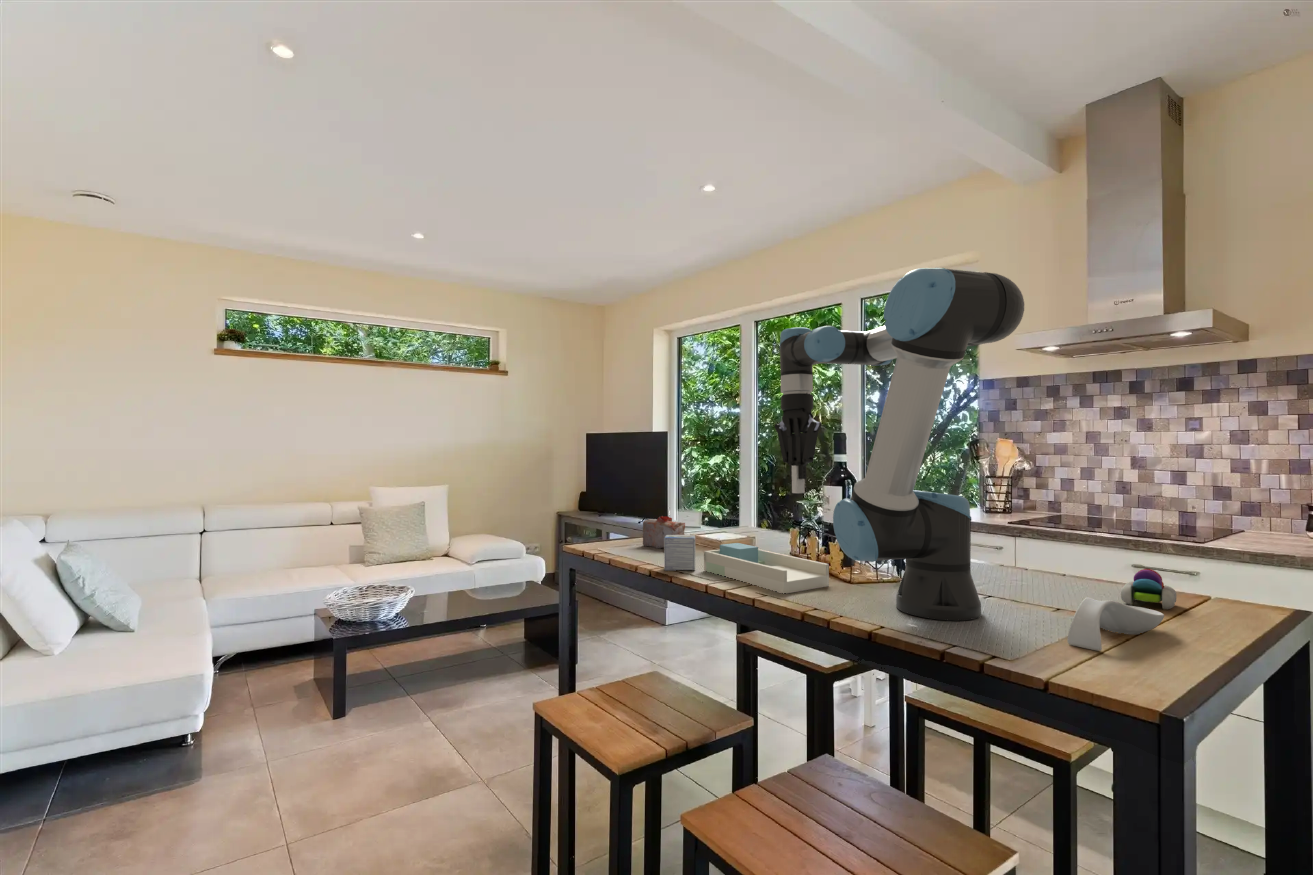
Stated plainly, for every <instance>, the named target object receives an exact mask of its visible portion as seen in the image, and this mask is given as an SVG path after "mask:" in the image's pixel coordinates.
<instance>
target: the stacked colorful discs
mask: <svg viewBox="0 0 1313 875" xmlns="http://www.w3.org/2000/svg"><path fill="white" fill-rule="evenodd" d="M1164 584H1165V583H1164V582H1163V578H1162V575H1161V574H1160V573H1159V572H1157V571H1156V570H1154V569H1152V568H1143V569H1140V570H1138V571H1136V573H1135V574H1134V575H1133V581H1129V582H1127V583H1125V584H1124V586H1122V588H1120V598H1121V600H1122V602H1124V604H1126V605H1128V606H1133V603H1134V602H1135V601H1136V600H1137V601H1140V602H1147V603H1149V602H1150V603H1161V606H1162V607H1161V608H1162V610H1164V609H1167V610H1170V609H1172V608H1174V607H1175V604H1176V602H1177V591H1176V590H1175V589H1174V588H1173V587H1171V586H1169V585H1164Z"/></svg>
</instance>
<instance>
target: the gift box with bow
mask: <svg viewBox="0 0 1313 875" xmlns="http://www.w3.org/2000/svg"><path fill="white" fill-rule="evenodd" d="M685 530H686V522H683V521H682V522H679V521H673V517H671V516H663V515H661V516H659V517H657V519H656V518H649V519H646V520H644V521H642V546H644V547H650V546H652V547H651V548H656V549H664V538H665V536H666V535H686V534H685Z"/></svg>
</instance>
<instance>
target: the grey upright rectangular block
mask: <svg viewBox="0 0 1313 875" xmlns="http://www.w3.org/2000/svg"><path fill="white" fill-rule="evenodd" d="M663 549H664V552H663V555H664V558H663V559H664V570H663V571H676V570H694V571H696V535H695V534H693V535H692V534H685V535H666V536H665V538H664V548H663ZM694 571H693V572H694Z"/></svg>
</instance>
